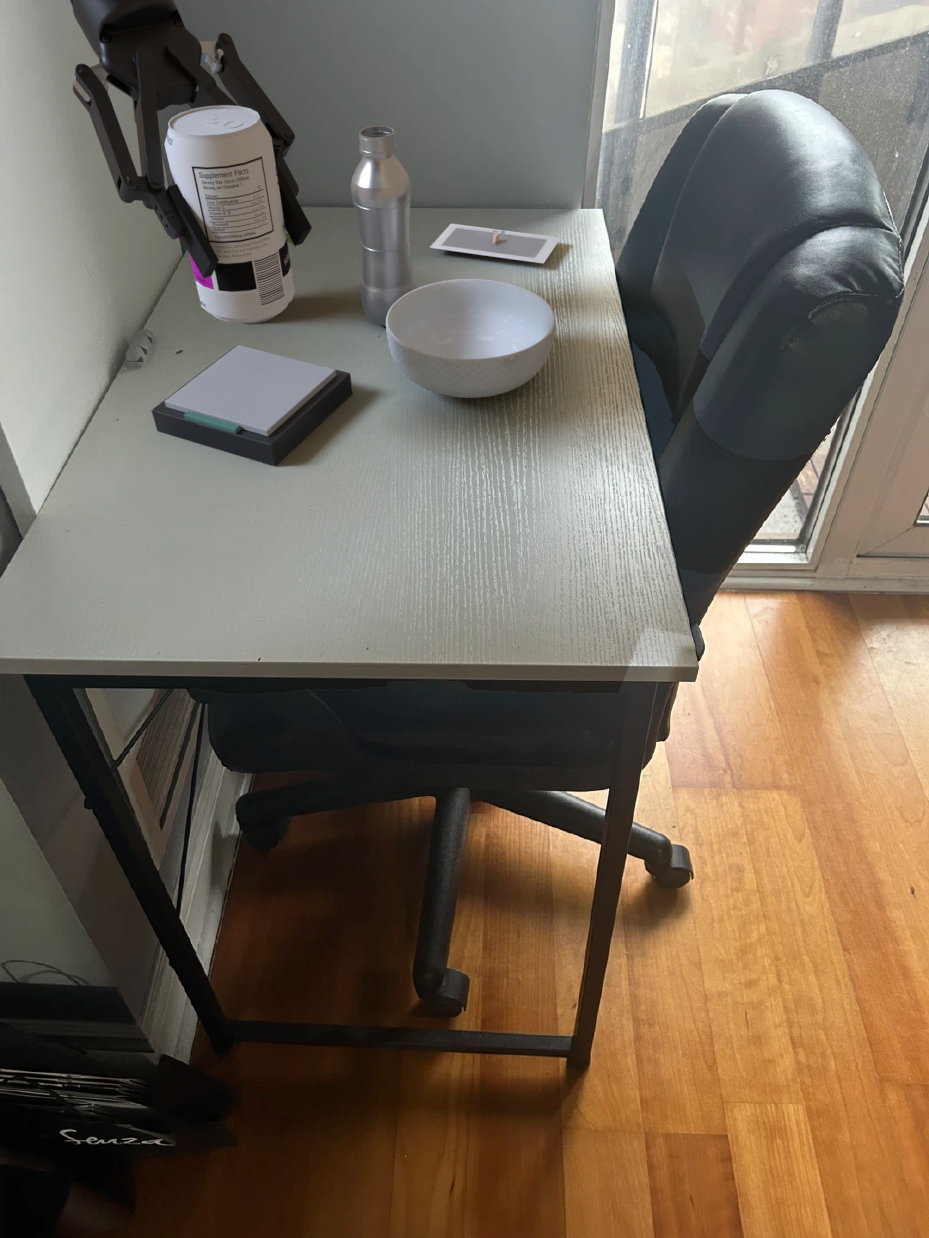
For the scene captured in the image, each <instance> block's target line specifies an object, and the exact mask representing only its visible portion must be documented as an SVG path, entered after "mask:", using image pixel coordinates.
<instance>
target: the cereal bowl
mask: <svg viewBox="0 0 929 1238" xmlns="http://www.w3.org/2000/svg"><path fill="white" fill-rule="evenodd" d="M556 327H557V326H556V315H555V313H554V310H553V308H552V307H551V305H550V304H549V303H548V301H546V300H545V298H543V297H541V296H540V295H539V294H537V293H535V292H534V291H531V290H529V289H528V288H525V287H522V286H519V285H517V284H513V283H509V282H506V281H502V280H494V279H485V278H458V279H447V280H443V281H437V282H433V283H429V284H426V285H422V286H419V287H417V289H415V290H412V291H411V292H409V293H407V294H405V295H404V296H402V297H401V298H399V299H398V300H397V301H396V302H395V303H394V304H393V305H392V306H391V308H390V309H389V311H388V314H387V317H386V326H385V332H386V339H387V345H388V347H389V352H390V353H391V357H392V359H393V360H394V363H395V364H396V366H397V367H398V369H399V370H400V371H401V372H402V373H403V374H404V375H405V377H407V378H408V379H409V380H410V381H412V382H414V384H415V385H418V386H420V387H421V388H423V389H425V390H428V391H431V392H433V393H437V394H439V395H444V396H446V397H454V398H461V399H462V398H465V399H469V398H470V399H477V398H478V399H480V398H488V397H493V396H497V395H501V394H505V393H508V392H510V391H513V390H515V389H517V388H519V387H521V386H523V385H525V384H526V383H528V382H529V381H530V380H531V379H533V378H534V377H535V376H536V375H537V374H538V373H539V372H540V371H541V370H542V368H543V367H544V365H545V364H546V362H547V360H548V359H549V356H550V354H551V351H552V347H553V344H554V340H555V334H556Z"/></svg>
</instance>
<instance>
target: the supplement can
mask: <svg viewBox="0 0 929 1238" xmlns="http://www.w3.org/2000/svg"><path fill="white" fill-rule="evenodd" d="M167 125H168V129H167V132H166V137H165V141H164V149H165V152H166V157H167V162H168V166H169V171H170V175H171V179H172V185H175V184H177V185H178V187H179V189H180V191H181V193H182V195H183V197H184V198H185V200H186V202H187V203H188V205H189V207H190V209H191V211H192V212H193V214H194V216H195V218H196V220H197V221H198V223H199V225H200V227H201V229H202V230H203V232H204V234H205V236H206V238H207V239H208V241H209V243H210V245H211V247H212V248H213V250H214V252H215V254H216V256H217V257H218V259H219V261H218V263H217V266H216V268H215V270H214V272H213V274H212V276H209V277H206V278H203V277H202V275H201V273H200V271H199V270H198V268H197V266H196V264H195V262H194V261H193V259H192V257H191V255H190V253H189V252H188V254H189V258H190V263H191V267H192V272H193V275H194V276H193V277H194V281H195V284H196V285H195V286H196V288H197V289H196V290H197V294H198V298H199V302H200V305H201V308H202V309H204V310H205V311H206V312H207V313H208V314H210V315H212V316H213V317H215V318H216V319H217V320H221V321H224V322H227V323H238V324H246V322H256V321H260V320H264V319H268V318H271V317H273V316H275V315H276V316H277V315H279V314H281V313H282V312H283V311H284V310H285V309H286V308H287V307H288V305H289V304H290V302H292V301H293V299H294V296H295V293H296V291H295V284H294V277H293V270H292V265H291V257H290V251H289V244H288V243H289V242H288V241H287V237H286V234H287V231H286V229H285V224H284V217H283V210H282V204H281V197H280V191H279V184H278V178H277V171H276V164H275V158H274V151H273V145H272V138H271V136H270V134H269V132H268V130H267V129H266V127H265V126H264V124H263V123H262V121H261V120H260V116H259V114H258V112H256V111H254V110H252V109H250V108H246V107H241V106H239V105H238V106H229V105H220V106H207V107H201V108H195V109H192V108H191V109H188V110H185V111H181V112H179V113H178V114H176V115H174V116H172V117H171V118H170V119H169V121H168V122H167ZM276 316H275V317H276Z"/></svg>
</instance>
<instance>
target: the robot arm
mask: <svg viewBox="0 0 929 1238" xmlns="http://www.w3.org/2000/svg"><path fill="white" fill-rule="evenodd" d="M64 1H65V3H66V4H67V6H68V7H69V9H70V10H71V11H72V12H73V13H72V14H73V17H74V18H75V20H76V23H77V25H78V26H79V28H80V30H81V31H82V33H83V35H84V37H85V38H86V40H87V42H88V44H89V46H90V48H91V49H92V51H93V53H94V54H95V56H96V57H98V60H99V61H98V62H99V63H97V64H95V65H92V66H89V65H87V64H86V63H78V64H76V66H75V68H74V76H73V83H72V92H73V94H74V95H75V97H76V98H77V99H78V100H79V102H80V103H81V104H82V106H83V107H84V109H86V111H87V112H88V114H89V117H90V119H91V123H92V125H93V129H94V131H95V133H96V136H97V139H98V142H99V145H100V147H101V151H102V153H103V156H104V158H105V161H106V164H107V166H108V169H109V170H108V171H109V172H110V175H111V178H112V180H113V183H114V186H115V189H116V192H117V194H118V197H119V199H120V200H121V201H122V202H123V203H126V204H132V203H133V202H135V201H138V202H139V201H141V203H142V205H143V206H144V207H145V208H146V209H148V210H153V211H154V213H155V216H156V217H157V219H158V220H159V222H160V224H161V225H162V228H163V229H164V231H165V232H166V234H167V236H168V237H169V238H170V239H172V240H176V239H179V238H180V239H181V241H182V242H183V244H184V246H185V248H186V250H187V252H188V254H189V253H190V254H189V256H190V255H191V257H192V259H193V261H194V262H195V264H196V266H197V268H198V270H199V271H200V273H201V275H202V277H203V278H206V277H209V276H212V274H213V272H214V270H215V268H216V266H217V263H218V261H219V259H218V257H217V256H216V254H215V252H214V250H213V248H212V247H211V245H210V243H209V241H208V239H207V238H206V236H205V234H204V232H203V230H202V229H201V227H200V225H199V223H198V221H197V220H196V218H195V216H194V214H193V212H192V211H191V209H190V207H189V205H188V203H187V202H186V200H185V198H184V197H183V195H182V193H181V191H180V189H179V187H178V185H177V184H175V185H174V184H171V185H168V186H167V188H166V186H165V183H166V181H165V180H166V179H165V172H164V163H163V154H162V145H161V144H162V143H161V136H160V135H161V134H160V126H159V117H158V111H162V110H164V109H166V108H168V107H170V106H182V105H186V104H187V105H188V106H189V107H190V108H191V109H195V108H201V107H207V106H220V105H229V106H241V107H246V108H250V109H252V110H254V111H256V112H258V114H259V116H260V120H261V121H262V123H263V124H264V126H265V127H266V129H267V130H268V132H269V134H270V136H271V138H272V145H273V151H274V158H275V164H276V171H277V178H278V184H279V191H280V197H281V204H282V210H283V217H284V224H285V230H286V233H287V234H288V235H289V236H290V238H291V240H292V242H293V243H294V245H295V247H297V246H300V245H302V244H304V242H305V240H306V238H307V237H308V235H309V234H310V233H311V231H312V229H313V226H312V225H311V223H310V221H309V219H308V218H307V216H306V213H305V212H304V210H303V208H302V206H301V205H300V203H299V201H298V199H297V196H298V194H299V193H300V190H299V189H300V188H299V185H298V183H297V180H296V179H295V177H294V175H293V174H292V172H291V170H290V168H289V166H288V164H287V163H286V160H285V159H284V158H286V156H287V155H288V153H289V152H290V149H291V147H292V145H293V143H294V141H295V139H296V135H295V132H294V130H293V129H292V128H291V127H290V125H289V124H288V123H287V121H286V120H285V118H284V117H283V116H282V114H281V113H280V112H279V110H278V109H277V108H276V106H275V105H274V104H273V102H272V101H271V100H270V98H269V97H268V96H267V94H266V92H265V91H264V90H263V88H262V87H261V86H260V84H259V82H257V81H256V79H255V77H254V76H253V75H252V74H251V72H250V71H249V70H248V68H247V67H246V66H245V64H244V63H243V61H242V60H241V59H240V56H239V54H238V50H237V48H236V45H235V43H234V40H233V38H232V36H231V35H230V34H229V33H227V32H220V33H219V34H218V36H217V38H216V40H208V41H207V40H204V41H202V40H201V41H200V40H199V38H197V37H196V36H195V35H194V34H193V33H191V31H190V30H189V29H187V27H186V26H185V24H184V21H183V19H182V16H181V14H180V11H179V8H178V6H177V4H176V2H175V1H174V0H64ZM202 61H203V62H205V63H206V64H207V65H208V66H209V67H210V72H211V73H212V74H214V75H218V78H219V80H220V82H221V83H222V85H223V86H224V88H225V89H226V91H227V92H228V93H229V95H230V96H231V98H230V97H229V95H228V94H226V93H225V92H224V91H223V90H222V89H221V88H220V87H219V86H218V85H217V81H216V79H215V77H214V76H212V75H211V74H210V72H208V70H207V69H205V68H204V67H203V66H202V65H201V62H202ZM109 85H111V86H112V87H114V88H115V89H117V90H119V91H120V92H122V93H123V94H125V95H126V96H128V97H129V98H130V99H132V110H133V118H134V120H133V121H134V124H135V125H136V134H137V143H138V144H137V145H138V154H139V163H140V172H141V175H138V172H137V169H136V166H135V163H134V161H133V157H132V156H131V153H130V150H129V147H128V145H127V144H128V143H127V141H126V139H125V136H124V133H123V130H122V128H121V125H120V122H119V119H118V116H117V114H116V111H115V109H114V105H113V103H112V99H111V97H110V95H109V88H110V87H109ZM294 245H293V246H294Z"/></svg>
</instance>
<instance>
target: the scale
mask: <svg viewBox="0 0 929 1238" xmlns="http://www.w3.org/2000/svg"><path fill="white" fill-rule="evenodd" d="M353 394H354V393H353V385H352V375H351V372H349V371H348V372H347V371H344V370H340V369H335V368H332V367H328V366H323V365H319V364H315V363H312V362H307V361H304V360H300V359H296V358H293V357H288V356H285V355H280V354H277V353H273V352H269V351H266V350H260V349H256V348H253V347H250V346H249V347H248V346H245V345H241V344H236V345H234V346H233V347H232V348H231V349H229V350H228V351H227V352H225V353H224V354H223V355H222V356H220V357H219V358H218V359H217V360H215V361H214V362H213V363H211V364H210V365H209V366H207V367H206V368H204V369H203V370H202V371H201V372H199V373H198V374H197V375H195V376H194V377H193V378H191V379H190V380H189V381H188V382H186V383H185V384H183V386H181V387H180V388H178V389H177V390H175V391H174V392H173V393H172V394H171V395H169V396H168V397H166V398H165V399H164V400H163V401H161V402H160V403H159V404H157V405H156V406H155V407H154V408H152V409H151V414H152V418H153V420H154V424H155V427H156V431H157V432H159V433H163V434H166V435H170V436H172V437H176V438H179V439H183V440H187V441H189V442H193V443H196V444H199V445H203V446H205V447H209V448H213V449H216V450H219V451H222V452H226V453H229V454H232V455H236V456H240V457H242V458H246V459H249V460H253V461H255V462H258V463H259V462H260V463H263V464H266V465H269V466H273V467H276V466H277V465H279V464H280V463H281V462H282V461H283V460H284V459H285V458H286V457H288V455H289V454H290V453H291V452H293V450H294V449H295V448H297V447H298V446H299V445H300V444H301V443H302V442H303V441H304V440H305V439H306V438H307V437H309V436H310V434H312V432H314V431H315V430H316V429H317V428H318V427H319V426H320V425H321V424H322V423H323V422H324V421H325V420H326V419H327V418H328V417H329V416H331V415H332V414H333V413H334V412H335V411H336V410H337V409H338V408H340V406H342V404H343V403H345V402H346V400H348V399H349V398H350V397H352V395H353Z"/></svg>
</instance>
